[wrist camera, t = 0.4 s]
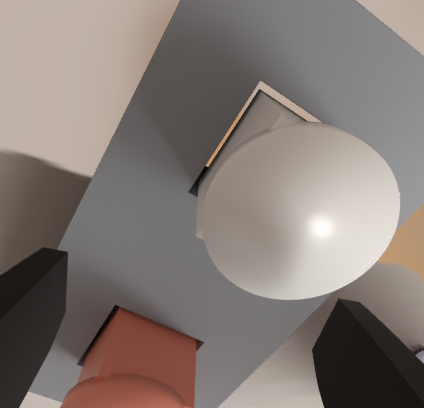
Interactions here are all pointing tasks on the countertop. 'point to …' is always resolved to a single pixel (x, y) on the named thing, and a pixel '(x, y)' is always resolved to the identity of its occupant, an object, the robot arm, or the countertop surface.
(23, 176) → the countertop surface
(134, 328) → the red plug
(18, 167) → the countertop surface
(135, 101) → the plug panel
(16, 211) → the countertop surface
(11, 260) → the countertop surface
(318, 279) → the plug
